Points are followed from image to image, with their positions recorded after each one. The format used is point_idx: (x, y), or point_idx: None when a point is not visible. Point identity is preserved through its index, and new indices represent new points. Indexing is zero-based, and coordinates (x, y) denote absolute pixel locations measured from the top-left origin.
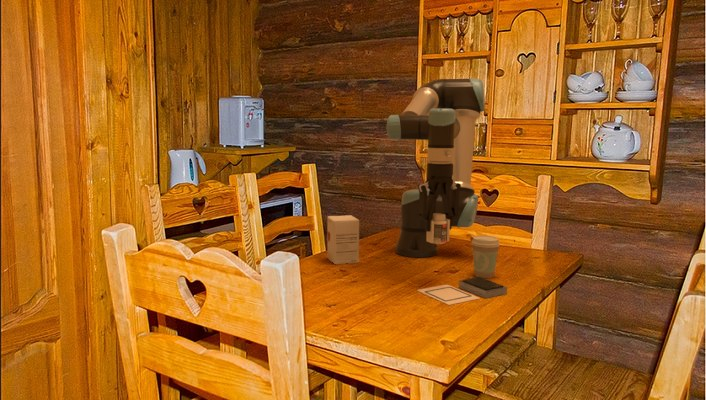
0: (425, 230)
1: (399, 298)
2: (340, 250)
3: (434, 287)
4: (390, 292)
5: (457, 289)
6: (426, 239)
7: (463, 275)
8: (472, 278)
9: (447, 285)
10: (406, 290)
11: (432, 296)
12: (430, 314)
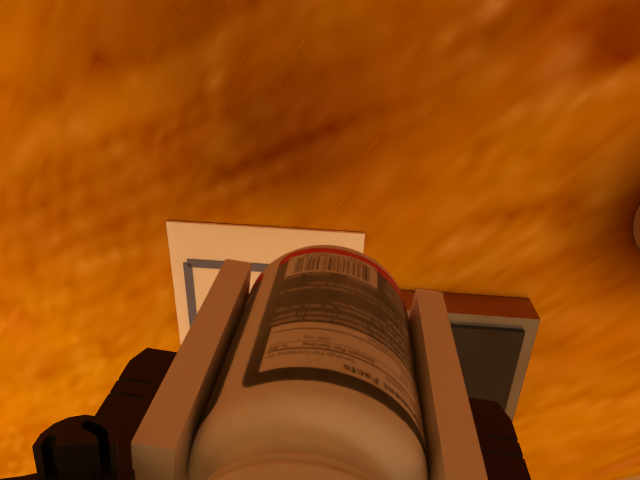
0: (143, 359)
1: (39, 258)
2: None
3: (271, 237)
4: (29, 171)
5: None
6: (221, 268)
7: (600, 146)
8: (468, 330)
9: (353, 247)
10: (121, 188)
11: (183, 321)
12: None
